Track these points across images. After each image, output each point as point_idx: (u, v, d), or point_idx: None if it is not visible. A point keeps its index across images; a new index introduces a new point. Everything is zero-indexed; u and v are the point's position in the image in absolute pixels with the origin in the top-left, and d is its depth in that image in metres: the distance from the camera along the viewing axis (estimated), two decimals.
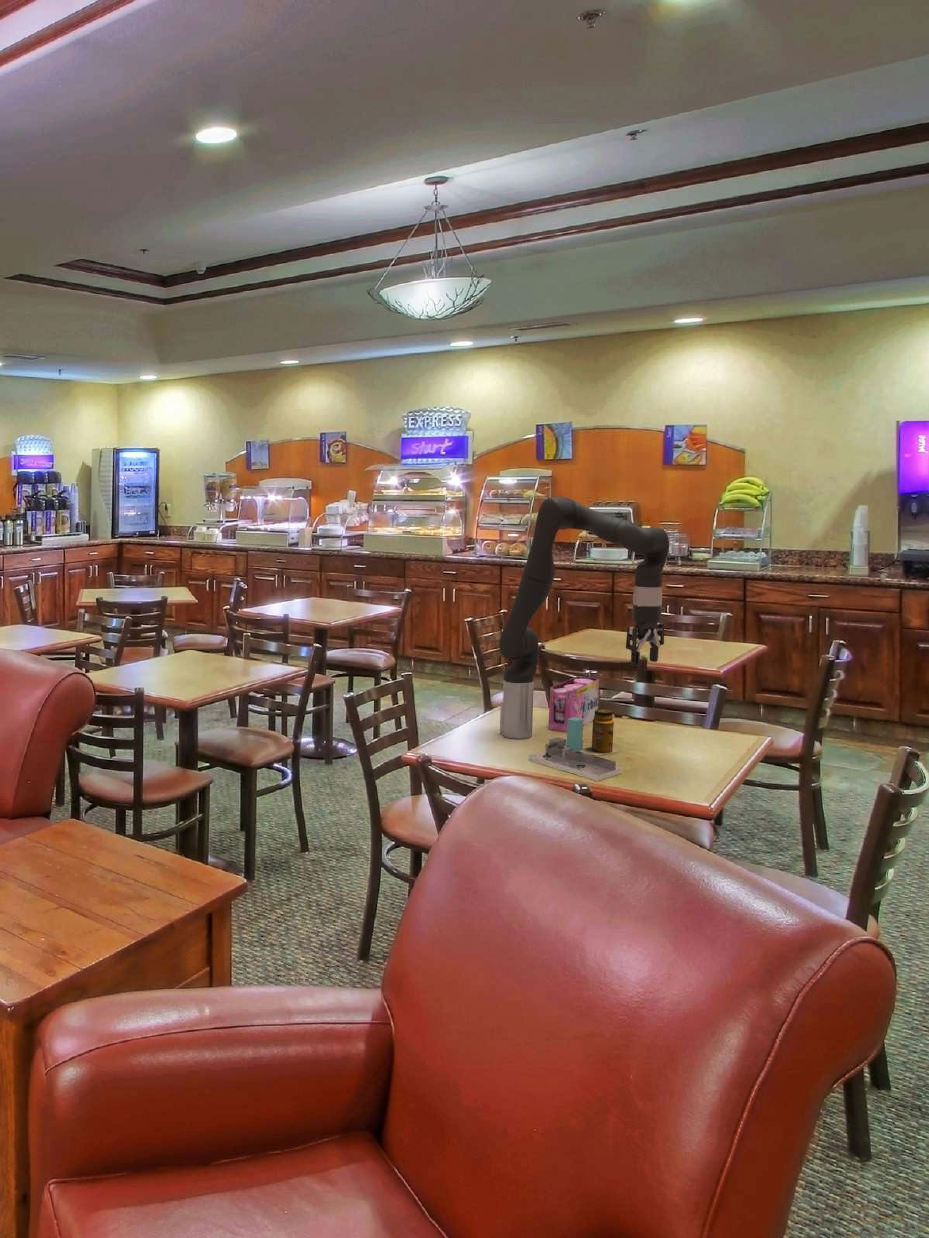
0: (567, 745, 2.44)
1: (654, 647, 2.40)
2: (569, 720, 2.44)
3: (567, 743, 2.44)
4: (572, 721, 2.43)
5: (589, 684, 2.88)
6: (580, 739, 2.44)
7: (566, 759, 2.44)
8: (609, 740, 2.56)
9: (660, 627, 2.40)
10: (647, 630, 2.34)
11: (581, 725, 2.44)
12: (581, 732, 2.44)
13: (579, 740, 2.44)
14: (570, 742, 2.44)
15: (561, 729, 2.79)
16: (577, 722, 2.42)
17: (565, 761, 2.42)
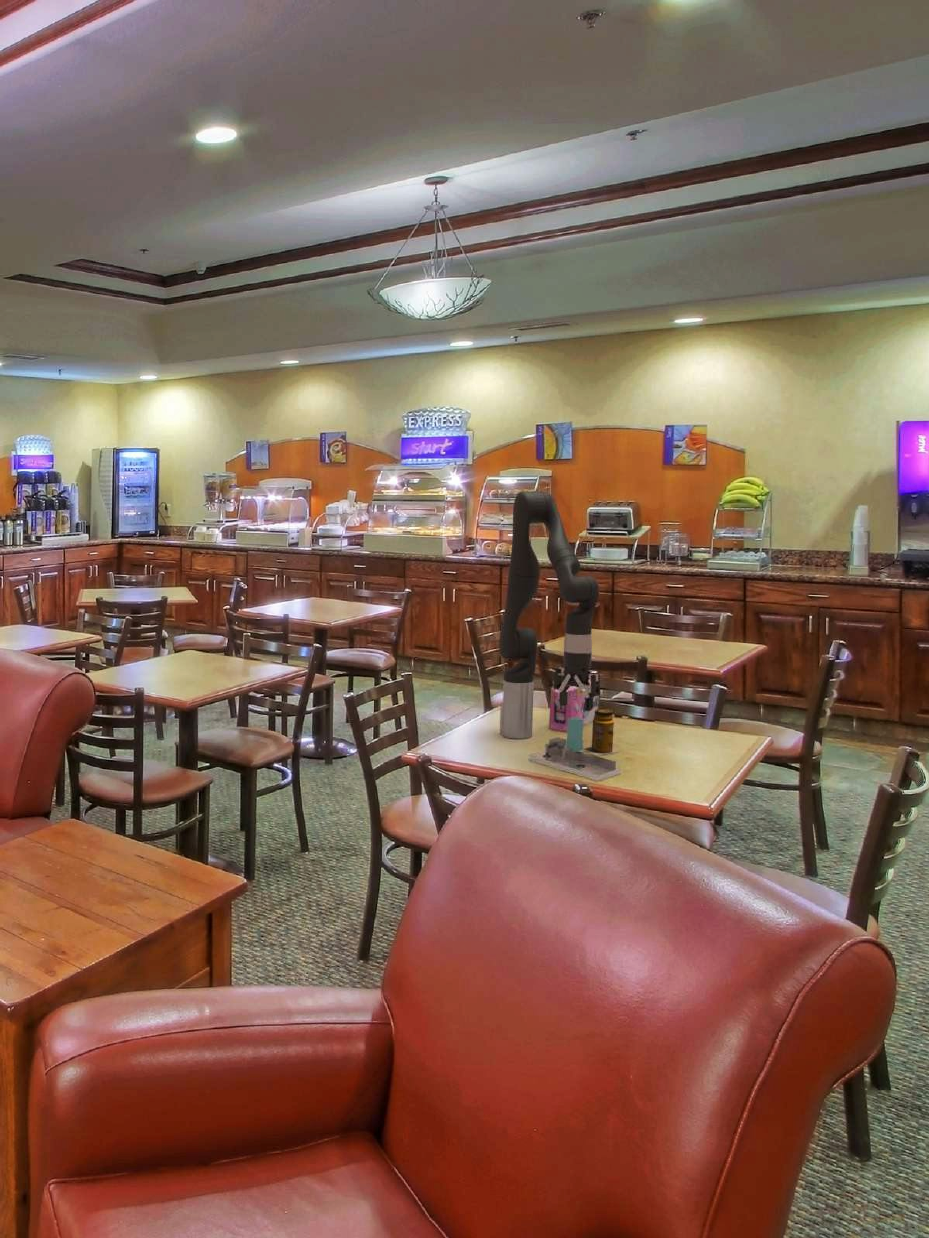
0: (567, 745, 2.44)
1: (565, 691, 2.46)
2: (569, 720, 2.44)
3: (567, 743, 2.44)
4: (572, 721, 2.43)
5: None
6: (580, 739, 2.44)
7: (566, 759, 2.44)
8: (609, 740, 2.56)
9: None
10: None
11: (581, 725, 2.44)
12: (581, 732, 2.44)
13: (579, 740, 2.44)
14: (570, 742, 2.44)
15: (562, 729, 2.79)
16: (577, 722, 2.42)
17: (565, 761, 2.42)
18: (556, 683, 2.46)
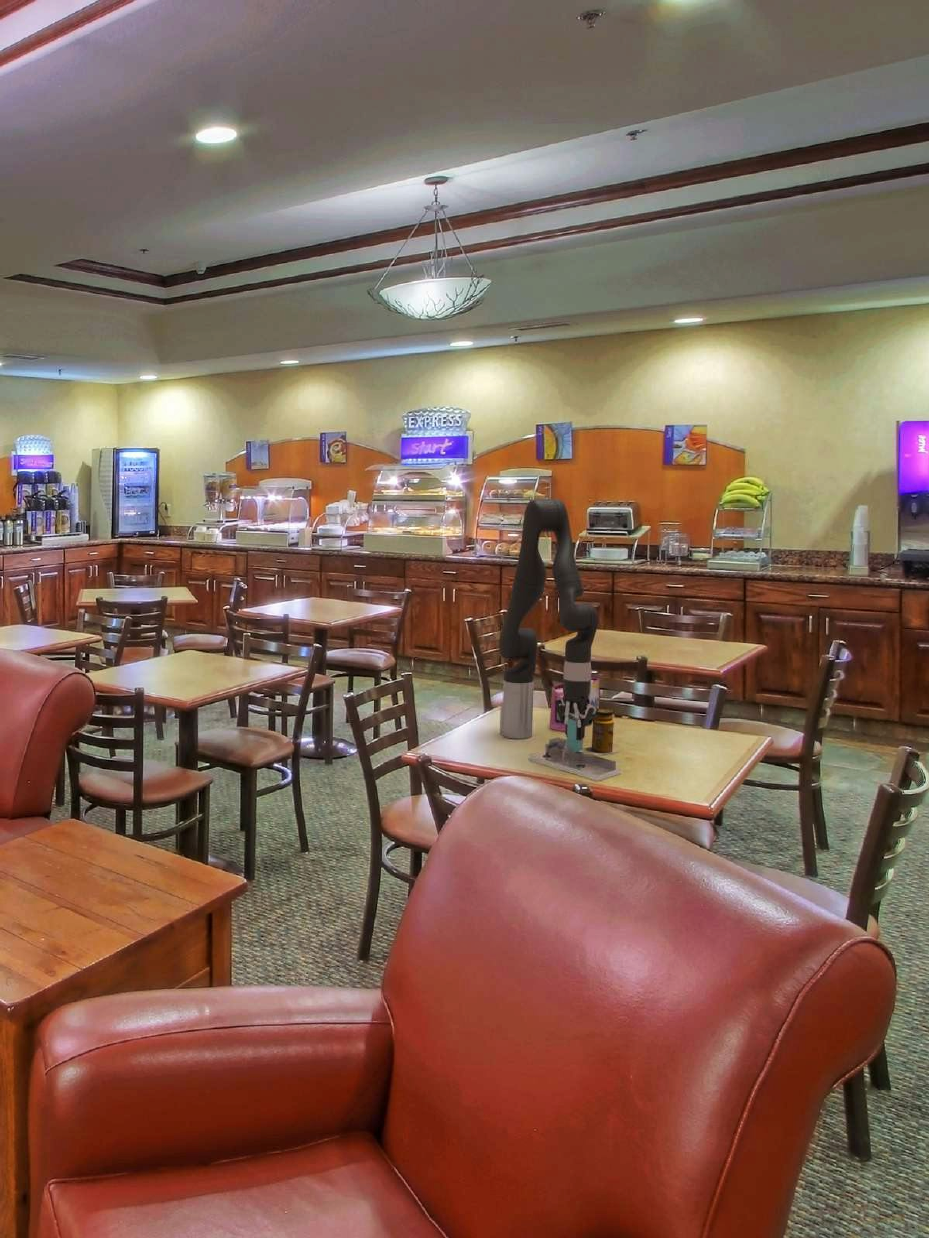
0: (567, 745, 2.44)
1: None
2: (569, 720, 2.44)
3: (567, 743, 2.44)
4: (572, 721, 2.43)
5: None
6: None
7: (566, 759, 2.44)
8: (609, 740, 2.56)
9: None
10: None
11: None
12: None
13: None
14: (570, 742, 2.44)
15: (563, 729, 2.79)
16: None
17: (565, 761, 2.42)
18: (561, 714, 2.46)
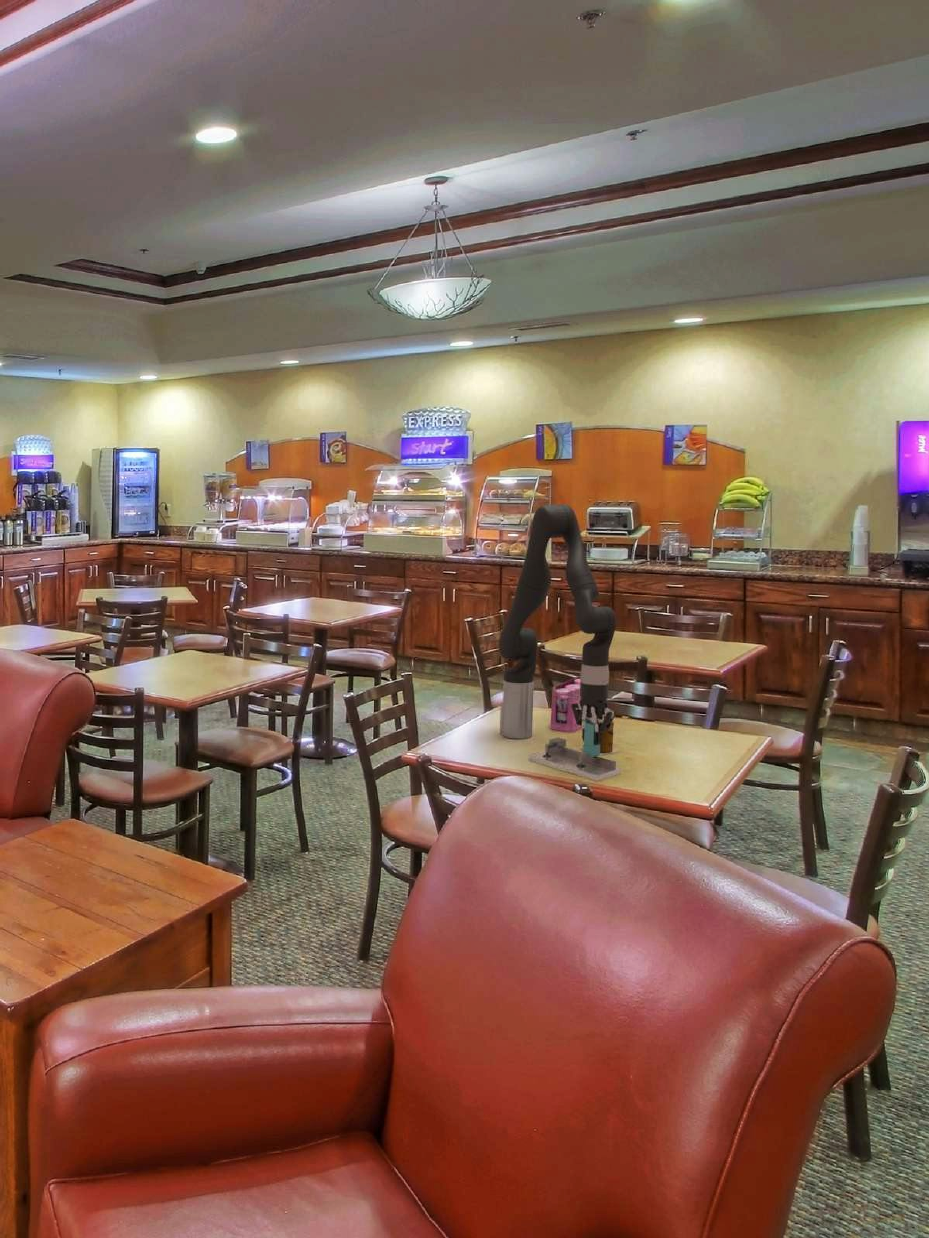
0: (584, 750, 2.40)
1: None
2: (586, 724, 2.39)
3: (584, 748, 2.40)
4: (589, 725, 2.39)
5: None
6: None
7: (566, 759, 2.44)
8: (609, 740, 2.56)
9: None
10: None
11: None
12: None
13: (596, 745, 2.40)
14: (587, 747, 2.39)
15: (563, 729, 2.79)
16: None
17: (565, 761, 2.42)
18: (577, 718, 2.42)
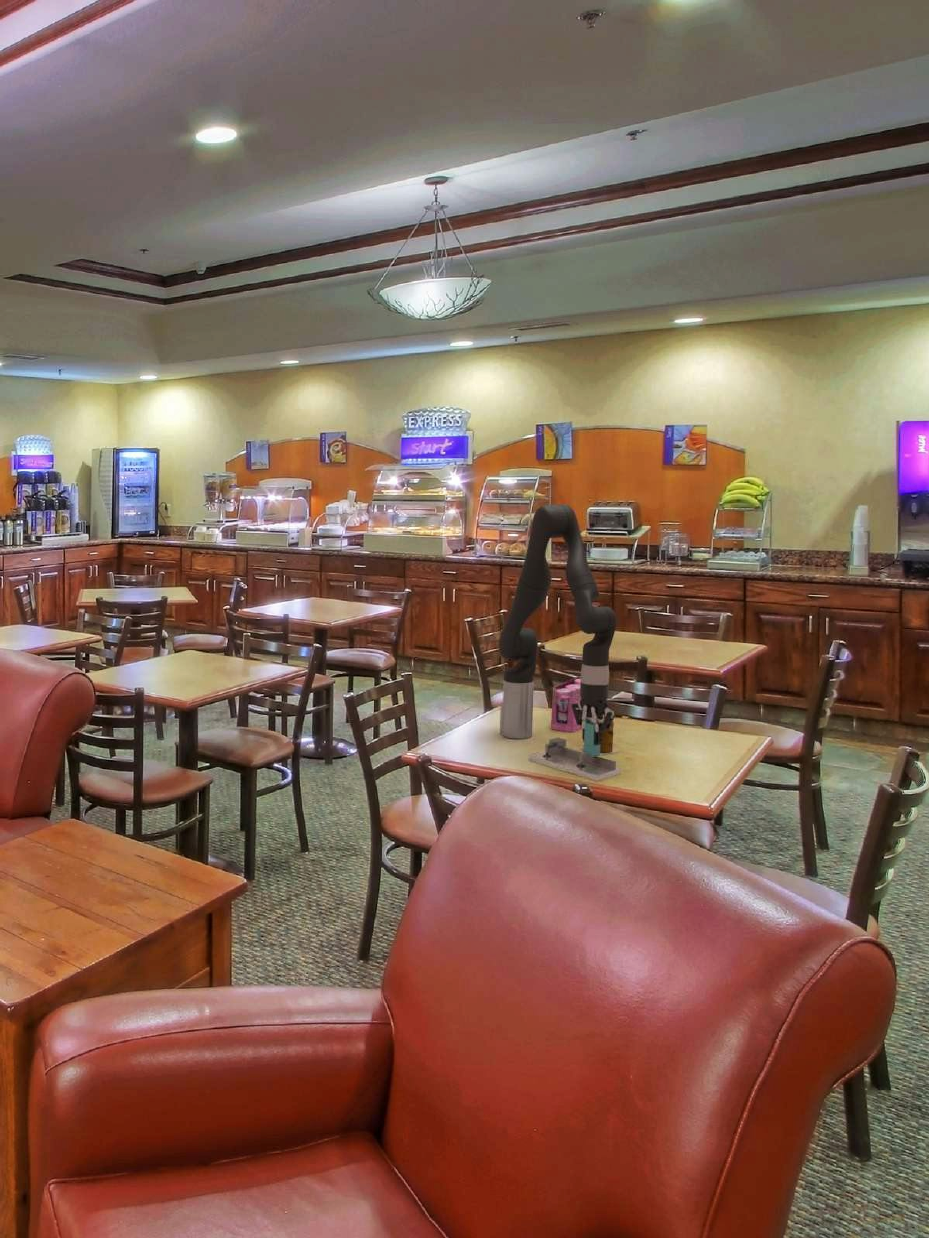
0: (584, 750, 2.40)
1: None
2: (586, 724, 2.39)
3: (584, 748, 2.40)
4: (589, 725, 2.39)
5: None
6: None
7: (566, 759, 2.44)
8: (609, 740, 2.56)
9: None
10: None
11: None
12: None
13: (596, 745, 2.40)
14: (587, 747, 2.39)
15: (564, 729, 2.79)
16: (594, 726, 2.38)
17: (565, 761, 2.42)
18: (577, 718, 2.42)
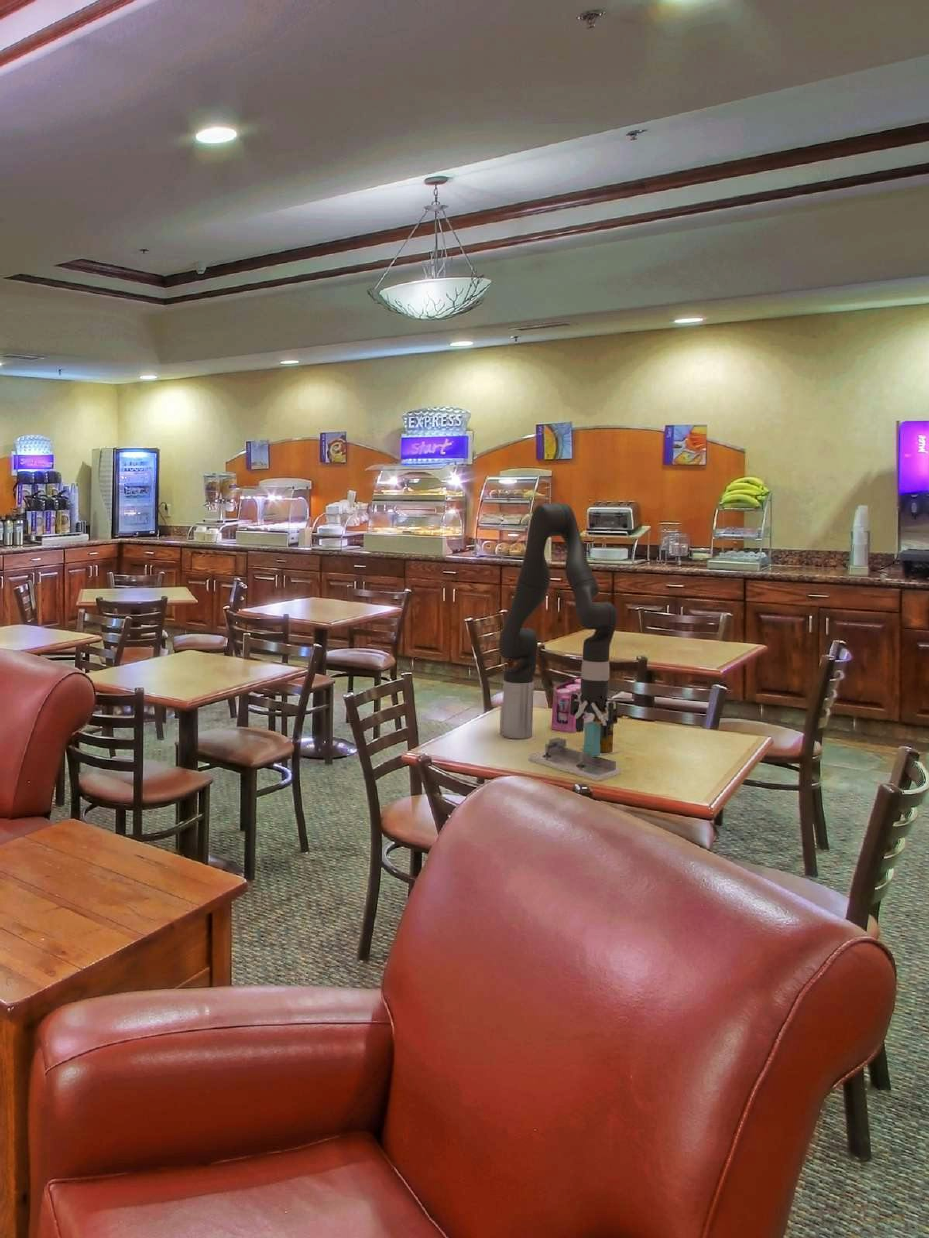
0: (584, 750, 2.40)
1: (581, 717, 2.43)
2: (586, 724, 2.39)
3: (584, 748, 2.40)
4: (589, 725, 2.39)
5: None
6: (597, 744, 2.40)
7: (566, 759, 2.44)
8: (609, 740, 2.56)
9: None
10: None
11: (599, 729, 2.40)
12: (598, 736, 2.40)
13: (596, 745, 2.40)
14: (587, 747, 2.39)
15: (564, 729, 2.79)
16: (594, 726, 2.38)
17: (565, 761, 2.42)
18: (572, 709, 2.43)
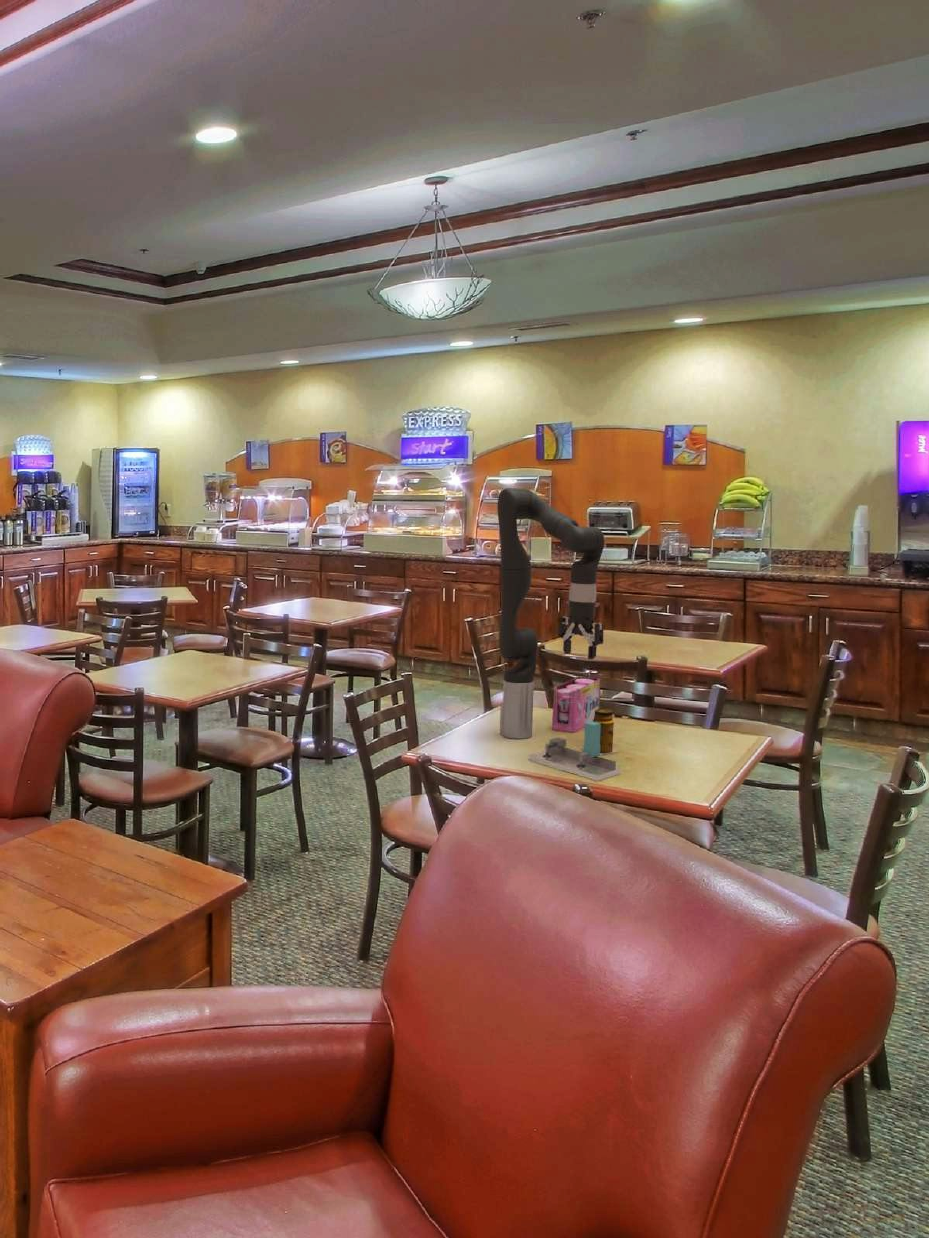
0: (584, 750, 2.40)
1: (569, 640, 2.51)
2: (586, 724, 2.39)
3: (584, 748, 2.40)
4: (589, 725, 2.39)
5: (591, 684, 2.88)
6: (597, 744, 2.40)
7: (566, 759, 2.44)
8: (609, 740, 2.56)
9: None
10: None
11: (599, 729, 2.40)
12: (598, 736, 2.40)
13: (596, 745, 2.40)
14: (587, 747, 2.39)
15: (565, 729, 2.79)
16: (594, 726, 2.38)
17: (565, 761, 2.42)
18: (560, 632, 2.51)
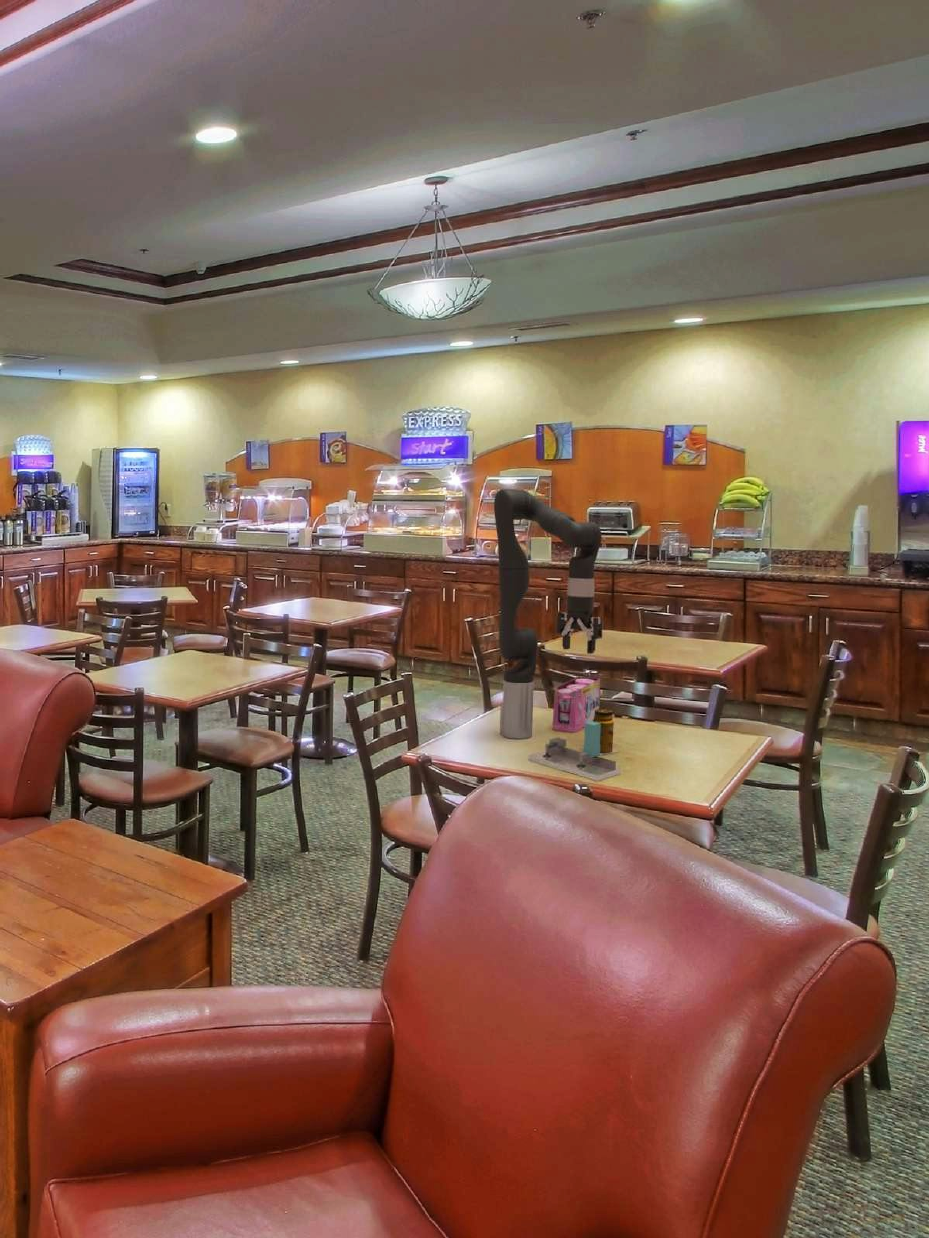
0: (584, 750, 2.40)
1: (568, 635, 2.52)
2: (586, 724, 2.39)
3: (584, 748, 2.40)
4: (589, 725, 2.39)
5: (591, 684, 2.88)
6: (597, 744, 2.40)
7: (566, 759, 2.44)
8: (609, 740, 2.56)
9: None
10: None
11: (599, 729, 2.40)
12: (598, 736, 2.40)
13: (596, 745, 2.40)
14: (587, 747, 2.39)
15: (566, 729, 2.79)
16: (594, 726, 2.38)
17: (565, 761, 2.42)
18: (559, 627, 2.52)
